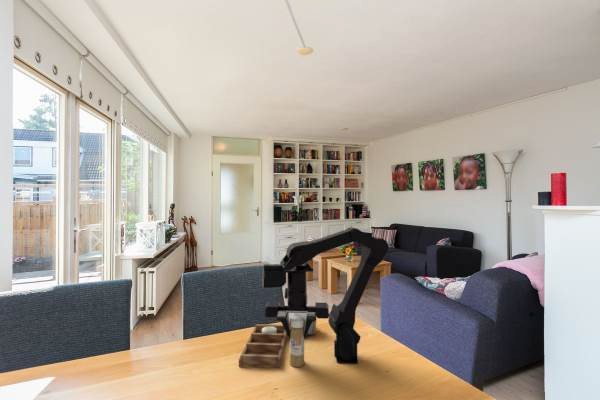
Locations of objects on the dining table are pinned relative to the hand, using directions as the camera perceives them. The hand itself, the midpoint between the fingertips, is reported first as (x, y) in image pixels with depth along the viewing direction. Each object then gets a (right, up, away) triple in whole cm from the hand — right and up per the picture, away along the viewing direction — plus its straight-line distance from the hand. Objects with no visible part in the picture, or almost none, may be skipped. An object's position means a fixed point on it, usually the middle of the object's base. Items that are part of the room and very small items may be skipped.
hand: (297, 338), depth 89 cm
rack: (-10, -7, +9) cm, 16 cm away
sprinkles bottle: (0, -8, 0) cm, 8 cm away
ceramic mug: (+2, -8, +21) cm, 23 cm away
